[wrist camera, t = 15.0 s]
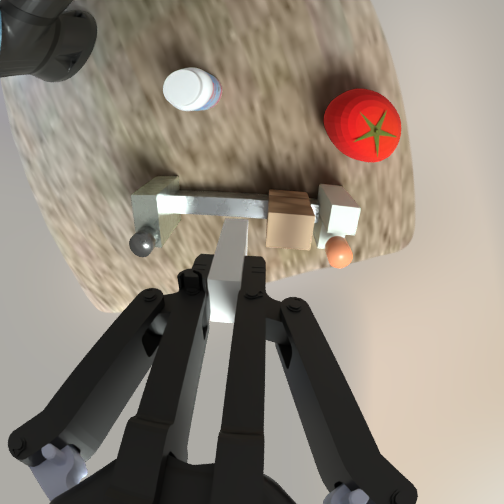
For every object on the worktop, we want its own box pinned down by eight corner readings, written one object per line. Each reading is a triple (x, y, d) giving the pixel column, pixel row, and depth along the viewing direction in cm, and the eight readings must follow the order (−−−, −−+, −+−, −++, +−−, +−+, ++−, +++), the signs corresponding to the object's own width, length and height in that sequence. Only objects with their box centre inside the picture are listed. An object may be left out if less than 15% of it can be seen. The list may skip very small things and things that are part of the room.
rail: (160, 218, 47) (129, 255, 36) (156, 175, 43) (120, 202, 32) (312, 229, 47) (325, 271, 35) (319, 184, 43) (337, 215, 31)
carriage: (266, 220, 45) (265, 248, 37) (269, 189, 43) (268, 210, 35) (302, 223, 45) (309, 251, 37) (306, 192, 43) (315, 214, 34)
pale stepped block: (312, 231, 47) (321, 261, 38) (319, 183, 42) (332, 204, 34) (334, 233, 47) (347, 263, 38) (342, 186, 42) (360, 208, 34)
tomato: (317, 88, 35) (332, 82, 25) (381, 93, 34) (413, 92, 25) (319, 153, 40) (334, 168, 31) (381, 155, 39) (410, 172, 30)
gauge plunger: (320, 249, 40) (326, 267, 36) (324, 228, 39) (331, 245, 34) (342, 250, 40) (349, 268, 36) (346, 230, 39) (355, 247, 34)
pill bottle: (221, 110, 38) (204, 112, 28) (183, 110, 38) (155, 112, 28) (224, 74, 35) (209, 63, 25) (185, 74, 35) (158, 65, 25)
